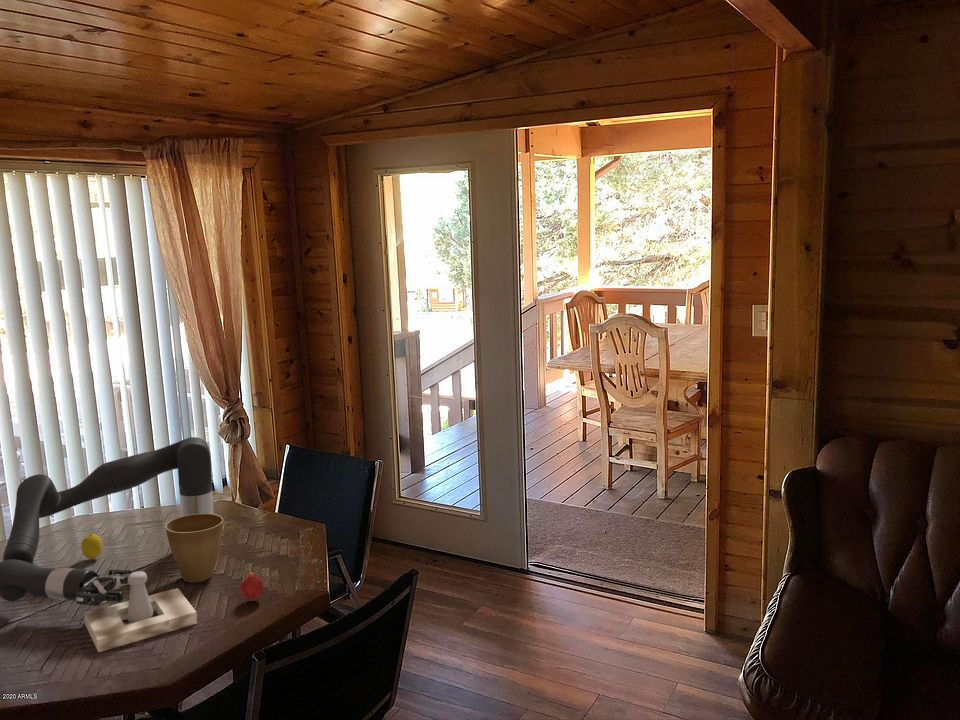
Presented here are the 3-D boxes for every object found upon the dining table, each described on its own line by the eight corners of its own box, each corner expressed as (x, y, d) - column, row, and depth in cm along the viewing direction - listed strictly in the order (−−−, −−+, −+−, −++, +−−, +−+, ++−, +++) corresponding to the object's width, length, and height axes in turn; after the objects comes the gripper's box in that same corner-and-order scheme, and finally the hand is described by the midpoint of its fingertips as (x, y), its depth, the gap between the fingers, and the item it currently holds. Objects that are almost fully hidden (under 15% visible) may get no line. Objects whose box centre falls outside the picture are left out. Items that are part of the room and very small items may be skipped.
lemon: (94, 564, 220) (92, 538, 219) (78, 562, 221) (75, 536, 220) (107, 556, 226) (105, 530, 224) (91, 555, 227) (89, 529, 225)
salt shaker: (159, 620, 188) (155, 570, 186) (141, 631, 183) (137, 580, 181) (140, 616, 190) (136, 567, 188) (122, 627, 185) (118, 576, 183)
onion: (243, 596, 201) (242, 567, 199) (266, 595, 201) (264, 567, 200) (238, 607, 195) (237, 577, 194) (261, 606, 195) (260, 576, 194)
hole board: (178, 598, 199) (177, 587, 199) (197, 623, 187) (196, 611, 186) (85, 624, 186) (84, 612, 186) (98, 652, 174) (97, 640, 173)
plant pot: (236, 576, 212) (233, 521, 210) (184, 594, 202) (181, 537, 199) (209, 561, 223) (206, 508, 220) (159, 577, 212) (155, 522, 209)
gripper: (50, 583, 180) (113, 587, 178) (89, 558, 194) (148, 561, 192) (53, 612, 181) (116, 617, 179) (91, 585, 195) (150, 590, 193)
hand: (133, 588), depth 185 cm, fingers open, 8 cm apart
